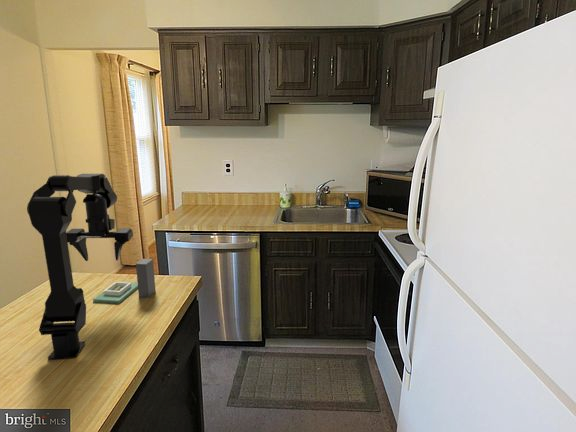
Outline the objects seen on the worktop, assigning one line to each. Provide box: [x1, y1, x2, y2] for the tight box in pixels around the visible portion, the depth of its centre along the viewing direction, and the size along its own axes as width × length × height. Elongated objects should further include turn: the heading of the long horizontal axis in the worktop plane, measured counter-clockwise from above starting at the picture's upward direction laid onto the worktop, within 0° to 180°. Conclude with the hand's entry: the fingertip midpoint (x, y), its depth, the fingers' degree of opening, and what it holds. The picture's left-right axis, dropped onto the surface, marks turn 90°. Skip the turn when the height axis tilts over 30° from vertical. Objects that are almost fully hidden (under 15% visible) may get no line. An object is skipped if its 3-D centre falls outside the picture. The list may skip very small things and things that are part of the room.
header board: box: [92, 281, 138, 304], centre depth 122 cm, size 14×9×2 cm, turn 174°
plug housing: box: [135, 258, 156, 299], centre depth 121 cm, size 5×4×12 cm
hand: (102, 260), depth 114 cm, fingers open, 9 cm apart
